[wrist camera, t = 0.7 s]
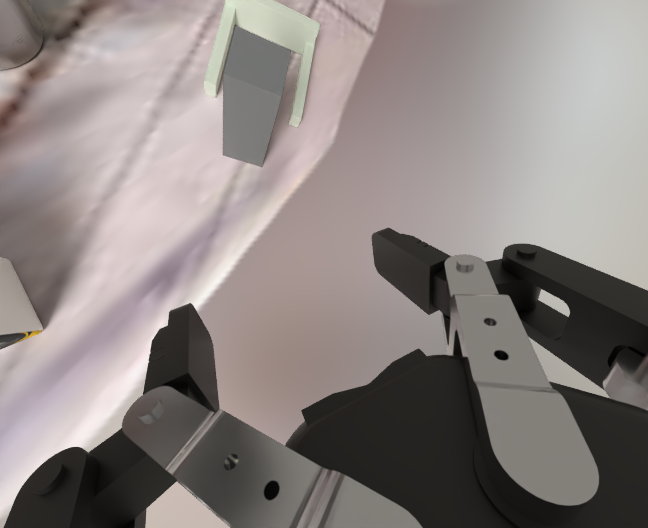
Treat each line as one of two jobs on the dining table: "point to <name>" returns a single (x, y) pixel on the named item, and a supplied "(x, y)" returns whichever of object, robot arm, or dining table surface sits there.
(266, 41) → the tall gray pillar block
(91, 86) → the dining table surface
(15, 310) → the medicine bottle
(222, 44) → the mount
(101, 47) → the dining table surface
